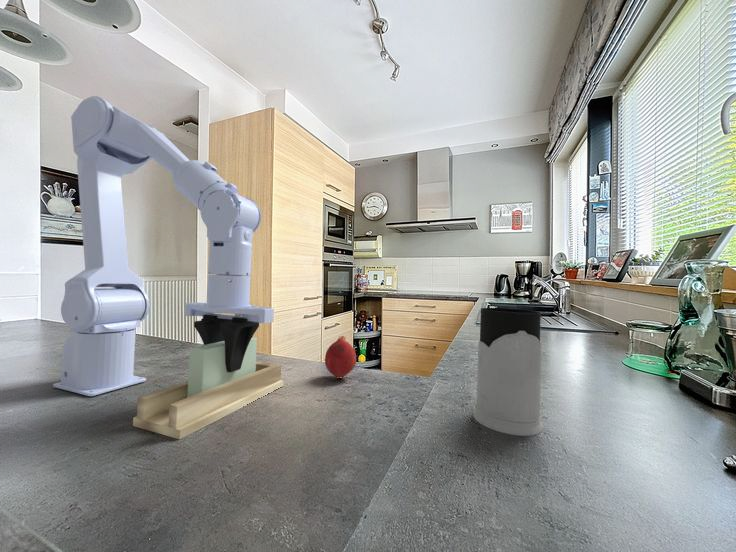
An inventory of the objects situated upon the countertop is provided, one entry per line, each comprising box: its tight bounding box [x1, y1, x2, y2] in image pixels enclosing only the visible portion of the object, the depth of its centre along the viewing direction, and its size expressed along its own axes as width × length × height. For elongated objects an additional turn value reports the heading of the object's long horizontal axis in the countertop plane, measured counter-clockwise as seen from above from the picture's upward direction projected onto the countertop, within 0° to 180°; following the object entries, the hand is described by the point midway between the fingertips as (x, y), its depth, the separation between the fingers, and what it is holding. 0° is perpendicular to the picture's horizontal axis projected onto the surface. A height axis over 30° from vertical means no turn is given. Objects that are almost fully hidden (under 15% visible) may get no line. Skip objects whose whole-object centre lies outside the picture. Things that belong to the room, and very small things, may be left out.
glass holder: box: [472, 307, 544, 437], centre depth 45 cm, size 9×14×15 cm, turn 177°
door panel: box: [187, 337, 258, 398], centre depth 45 cm, size 2×10×7 cm, turn 160°
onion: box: [324, 334, 357, 378], centre depth 57 cm, size 6×6×8 cm
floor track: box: [132, 360, 284, 440], centre depth 44 cm, size 8×19×4 cm, turn 160°
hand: (225, 369), depth 45 cm, fingers closed on door panel, 2 cm apart
